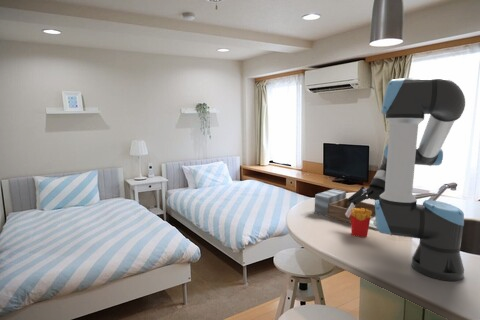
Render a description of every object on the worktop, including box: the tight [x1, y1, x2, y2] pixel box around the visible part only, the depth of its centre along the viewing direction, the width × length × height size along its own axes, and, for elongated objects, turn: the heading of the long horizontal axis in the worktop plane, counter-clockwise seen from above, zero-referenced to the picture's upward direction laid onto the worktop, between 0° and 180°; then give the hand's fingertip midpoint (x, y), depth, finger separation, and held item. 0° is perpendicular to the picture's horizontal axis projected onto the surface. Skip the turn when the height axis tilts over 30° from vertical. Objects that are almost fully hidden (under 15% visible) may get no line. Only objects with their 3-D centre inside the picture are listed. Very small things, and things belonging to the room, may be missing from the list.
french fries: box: [350, 208, 372, 238], centre depth 133 cm, size 8×4×12 cm, turn 71°
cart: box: [314, 188, 378, 231], centre depth 156 cm, size 18×34×10 cm, turn 41°
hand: (360, 220), depth 134 cm, fingers open, 13 cm apart
